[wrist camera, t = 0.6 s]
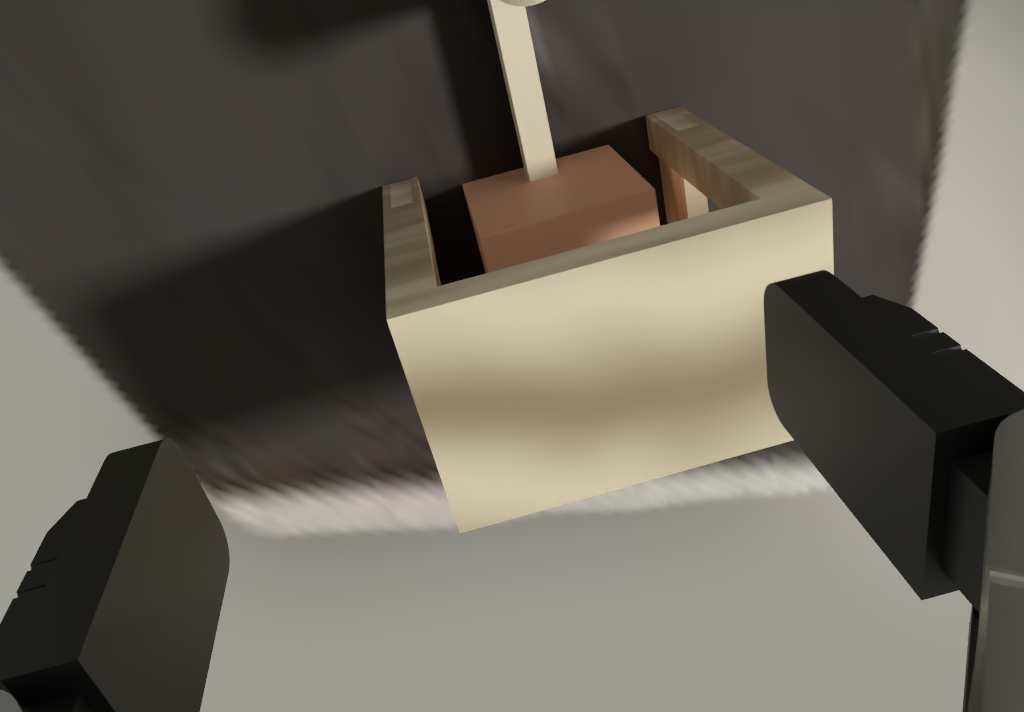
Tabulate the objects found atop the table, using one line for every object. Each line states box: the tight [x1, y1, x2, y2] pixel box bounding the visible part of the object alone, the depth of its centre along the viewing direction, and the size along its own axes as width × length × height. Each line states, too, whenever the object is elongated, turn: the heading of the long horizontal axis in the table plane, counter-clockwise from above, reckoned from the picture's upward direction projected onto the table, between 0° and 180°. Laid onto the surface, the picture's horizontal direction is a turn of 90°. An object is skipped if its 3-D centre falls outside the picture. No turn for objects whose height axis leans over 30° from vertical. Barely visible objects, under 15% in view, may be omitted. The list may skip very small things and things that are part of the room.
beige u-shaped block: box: [382, 106, 834, 533], centre depth 28 cm, size 8×12×12 cm, turn 103°
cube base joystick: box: [462, 0, 660, 273], centre depth 27 cm, size 15×6×8 cm, turn 13°
